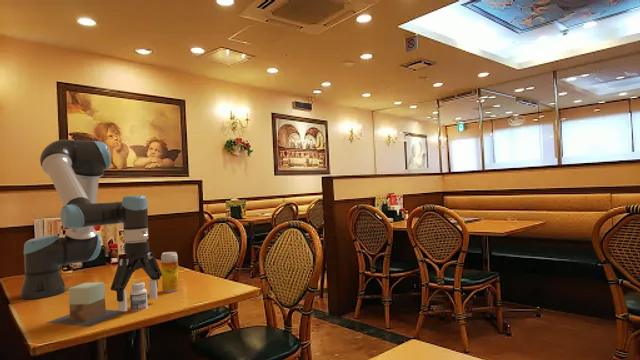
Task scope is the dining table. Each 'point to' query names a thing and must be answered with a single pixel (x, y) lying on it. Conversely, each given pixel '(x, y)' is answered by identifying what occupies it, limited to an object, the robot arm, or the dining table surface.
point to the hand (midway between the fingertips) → (139, 304)
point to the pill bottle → (138, 297)
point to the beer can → (169, 271)
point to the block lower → (87, 310)
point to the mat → (91, 322)
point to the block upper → (86, 293)
